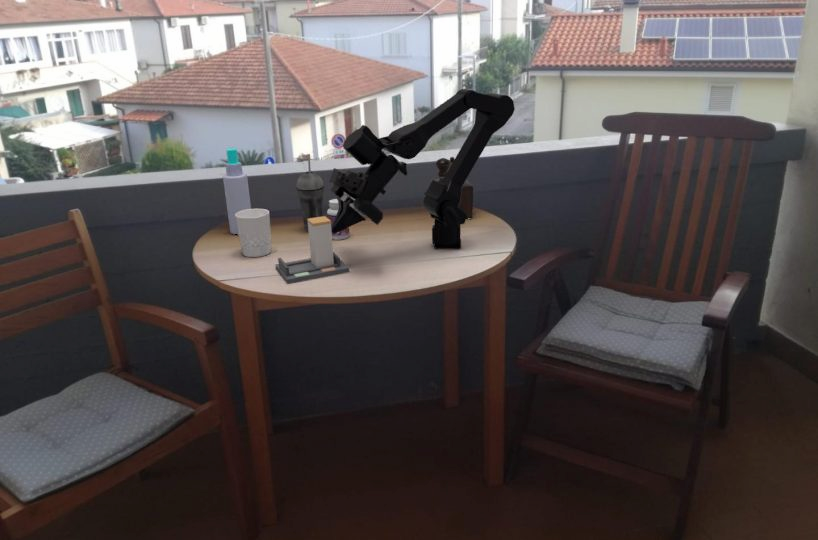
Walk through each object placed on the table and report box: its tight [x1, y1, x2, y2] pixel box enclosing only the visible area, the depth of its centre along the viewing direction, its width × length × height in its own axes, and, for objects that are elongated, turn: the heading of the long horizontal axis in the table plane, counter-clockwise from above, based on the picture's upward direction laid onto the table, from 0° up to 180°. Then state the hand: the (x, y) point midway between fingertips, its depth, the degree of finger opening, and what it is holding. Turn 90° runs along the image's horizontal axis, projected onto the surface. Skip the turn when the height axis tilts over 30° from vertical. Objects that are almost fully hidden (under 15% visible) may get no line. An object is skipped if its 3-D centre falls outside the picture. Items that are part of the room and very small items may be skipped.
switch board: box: [274, 251, 350, 285], centre depth 140 cm, size 14×10×3 cm
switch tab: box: [307, 215, 334, 268], centre depth 139 cm, size 4×4×10 cm
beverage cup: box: [295, 153, 325, 233], centre depth 165 cm, size 7×7×20 cm
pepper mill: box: [430, 156, 474, 220], centre depth 172 cm, size 16×11×18 cm
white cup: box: [235, 208, 272, 258], centre depth 151 cm, size 8×8×10 cm
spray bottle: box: [222, 148, 252, 236], centre depth 164 cm, size 6×6×22 cm
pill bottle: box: [326, 198, 350, 241], centre depth 160 cm, size 5×5×10 cm
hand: (332, 232), depth 140 cm, fingers closed
